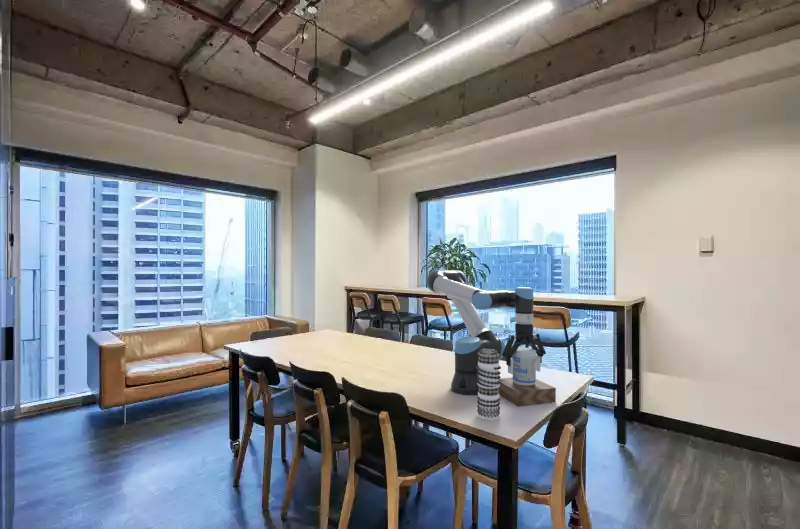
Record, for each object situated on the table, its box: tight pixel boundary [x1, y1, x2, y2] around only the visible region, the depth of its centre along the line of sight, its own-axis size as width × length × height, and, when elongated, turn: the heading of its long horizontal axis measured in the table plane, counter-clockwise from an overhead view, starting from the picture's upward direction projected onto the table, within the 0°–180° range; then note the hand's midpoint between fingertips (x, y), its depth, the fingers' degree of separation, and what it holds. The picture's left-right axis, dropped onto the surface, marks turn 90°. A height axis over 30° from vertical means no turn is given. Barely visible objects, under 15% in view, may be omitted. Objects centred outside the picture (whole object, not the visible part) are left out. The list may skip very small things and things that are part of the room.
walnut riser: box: [498, 377, 557, 408], centre depth 166 cm, size 18×18×6 cm
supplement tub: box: [512, 346, 537, 386], centre depth 166 cm, size 10×10×15 cm
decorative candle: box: [476, 349, 502, 421], centre depth 145 cm, size 9×9×25 cm
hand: (524, 372), depth 166 cm, fingers open, 13 cm apart
